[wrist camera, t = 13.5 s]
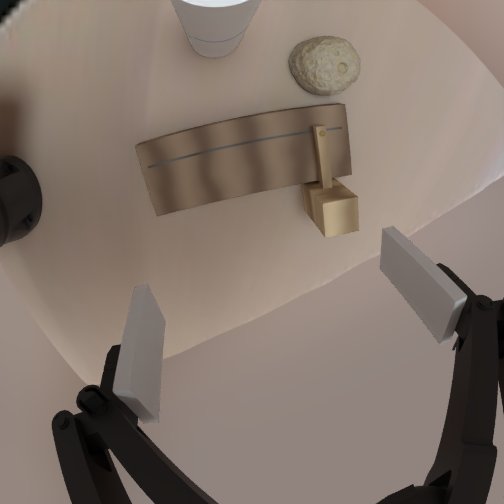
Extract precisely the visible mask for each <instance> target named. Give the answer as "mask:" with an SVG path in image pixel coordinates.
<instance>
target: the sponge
mask: <svg viewBox="0 0 504 504" xmlns="http://www.w3.org/2000/svg"><path fill="white" fill-rule="evenodd" d="M289 66H290V69H291V71H292V74H293V76H294V77H295V79H296V81H297V82H298V83H299V84H300V85H301V86H302V87H303V88H304V89H306V90H308V91H309V92H310V93H312V94H317V95H324V94H325V95H333V94H339V93H341V92H342V91H344V90H346V89H347V88H348V87H349V86H350V85H351V84H352V83H354V82H355V81H356V80H357V79H358V78H357V77H358V75H359V73H360V58H359V56H358V54H357V52H356V50H355V49H354V48H353V46H352V45H351V44H350V43H349V42H348V41H347V40H345V39H341V38H339V37H333V36H322V37H317V38H313V39H310V40H308V41H305V42H301V43H300V44H298V45H297V46H296V47H295V49H294V50H293V52H292V54H291V56H290V58H289Z"/></svg>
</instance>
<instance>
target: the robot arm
mask: <svg viewBox="0 0 504 504" xmlns="http://www.w3.org/2000/svg"><path fill="white" fill-rule="evenodd" d="M41 209H42V196H41V190H40V186H39V183H38V181H37V178H36V176H35V174H34V173H33V171H32V170H31V168H30V167H29V166H28V165H27V164H26V163H25V162H24V161H22V160H21V159H19V158H17V157H14V156H4V157H1V158H0V247H1V246H2V245H3V244H6V243H9V242H12V241H15V240H18V239H21V238H23V237H24V236H26V235H27V234H28V233H29V232H30V231H31V230H32V229H33V228H34V227H35V226H36V224H37V222H38V220H39V218H40V215H41ZM380 269H381V271H382V272H383V273H384V274H385V275H386V276H387V277H388V279H389V280H390V281H391V283H392V284H393V285H394V286H395V287H396V288H397V290H398V291H399V292H400V293H401V295H402V296H403V297H404V298H405V300H406V301H407V302H408V303H409V305H410V306H411V307H412V308H413V310H414V311H415V312H416V314H417V315H418V316H419V318H420V319H421V320H422V321H423V323H424V324H425V325H426V326H427V328H428V329H429V331H430V332H431V333H432V335H433V336H434V337H435V339H436V340H437V342H438V343H439V344H442V343H444V342H446V341H448V340H450V339H451V338H452V336H453V333H454V331H456V332H457V334H458V337H457V340H456V342H455V344H454V346H453V349H452V350H455V347H456V355H455V364H454V372H453V380H452V387H451V393H450V399H449V405H448V409H447V415H446V419H445V424H444V428H443V433H442V437H441V441H440V445H439V448H438V452H437V455H436V459H435V462H434V464H433V466H432V468H431V470H430V471H429V473H428V475H427V477H426V480H425V483H424V485H423V486H416V487H414V485H413V484H412V485H410V486H408V487H406V488H404V489H402V490H400V491H398V492H395V493H393V494H391V495H388V496H387V497H385V498H384V499H382V500H381V501H379V502H378V503H376V504H485V503H486V500H487V497H488V493H489V489H490V485H491V481H492V477H493V473H494V468H495V462H496V458H497V447H496V446H494V445H493V434H494V427H495V419H496V408H497V395H498V381H499V387H500V392H501V398H502V405H503V412H504V298H503V300H498V301H492V300H491V299H490V298H489V297H487V296H484V295H476V294H475V293H474V292H473V291H472V290H471V289H470V288H469V287H468V286H467V285H466V284H465V283H464V282H463V281H462V280H461V279H459V277H458V276H456V275H455V274H454V273H453V271H451V270H450V269H449V268H448V267H446V266H444V265H443V264H441V263H439V264H435V263H434V262H433V261H432V260H430V259H429V258H428V257H427V256H426V255H425V254H424V253H423V252H422V251H421V250H420V249H419V248H418V247H416V246H415V245H414V244H413V243H412V242H411V241H410V240H409V239H408V238H406V237H405V236H404V235H403V234H402V233H401V232H400V231H398V230H397V229H396V228H395V227H394V226H391V227H387V228H383V229H382V244H381V259H380ZM164 332H165V319H164V317H163V315H162V313H161V311H160V309H159V307H158V305H157V303H156V301H155V298H154V296H153V294H152V292H151V290H150V288H149V286H148V284H147V285H142V286H138V287H135V289H134V293H133V297H132V301H131V305H130V309H129V313H128V317H127V321H126V326H125V330H124V334H123V339H122V343H121V344H120V345H114V346H112V347H111V349H110V351H109V352H108V354H107V357H106V361H105V366H104V372H103V375H102V380H101V385H100V387H99V386H97V385H88V386H86V387H84V388H83V389H82V390H81V391H80V392H79V394H78V396H77V400H76V403H77V407H78V408H79V409H80V410H81V411H83V412H81V413H78V414H76V415H73V414H72V413H71V412H69V411H66V410H63V411H60V412H58V413H57V414H56V415H55V416H54V418H53V420H52V431H53V436H54V441H55V445H56V450H57V454H58V458H59V462H60V466H61V470H62V474H63V477H64V481H65V484H66V487H67V490H68V493H69V496H70V499H71V502H72V504H132V503H131V501H130V499H129V497H128V495H127V493H126V490H125V488H124V486H123V484H122V482H121V479H120V477H119V475H118V473H117V470H116V468H115V466H114V463H113V461H112V458H111V456H110V453H109V451H108V449H110V450H111V451H112V452H113V454H114V455H115V456H116V458H117V459H118V460H119V462H120V463H121V464H122V466H123V467H124V468H125V469H126V471H127V472H128V473H129V474H130V476H131V477H132V478H133V479H134V481H135V482H136V483H137V484H138V485H139V487H140V488H141V489H142V490H143V491H144V492H145V493H146V495H147V496H148V497H149V498H150V499H151V500H152V501H153V502H154V503H155V504H218V503H217V502H216V501H215V500H214V499H212V498H211V497H210V496H209V495H207V494H206V493H205V492H204V491H203V490H201V489H200V488H199V487H198V486H197V485H195V483H194V482H193V481H191V480H190V479H189V478H188V477H187V476H186V475H185V474H184V473H183V472H182V471H181V470H180V469H179V468H178V467H177V466H175V464H174V463H173V462H171V460H169V459H168V457H166V455H165V454H164V453H163V452H162V451H161V450H160V449H159V448H158V447H157V446H156V445H155V444H154V443H153V442H152V441H151V440H150V438H149V437H148V436H147V435H146V434H145V433H144V432H143V431H142V430H141V428H140V427H139V426H138V425H137V424H138V418H139V419H140V420H141V421H142V422H143V423H156V422H159V411H160V387H161V370H162V356H163V344H164Z"/></svg>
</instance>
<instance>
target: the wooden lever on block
mask: <svg viewBox="0 0 504 504" xmlns="http://www.w3.org/2000/svg"><path fill="white" fill-rule="evenodd" d="M313 132H314V139H315V147H316V155H317V163H318V172H319V180H318V181H313V182H307V183H302V191H303V199H304V207H305V211H306V212H307V214H308V215H309V216H310V218H311V219H312V220H313V222H314V223H315V225H316V226H317V227H318V229H319V230H320V231H321V233H322V234H323V236H324V237H325V238H328V237H333V236H337V235H342V234H346V233H350V232H355V231H359V212H358V196H356V195H355V194H354V193H353V192H351V191H350V190H349V189H348V188H346V187H345V186H344V185H342V184H341V183H340V182H339V181H337V180H336V179H335V178H331V167H330V157H329V148H328V139H327V131H326V126H325V125H315V126H313Z"/></svg>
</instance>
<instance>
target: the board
mask: <svg viewBox="0 0 504 504" xmlns="http://www.w3.org/2000/svg"><path fill="white" fill-rule="evenodd" d="M315 125H325V126H326V131H327V139H328V148H329V157H330V167H331V178H335V177H341V176H347V175H352V170H351V156H350V145H349V134H348V125H347V116H346V108H345V104H340V103H336V104H326V105H316V106H308V107H300V108H292V109H285V110H278V111H272V112H266V113H260V114H255V115H249V116H244V117H239V118H234V119H229V120H225V121H220V122H215V123H211V124H207V125H203V126H199V127H195V128H191V129H187V130H183V131H179V132H176V133H172V134H168V135H165V136H161V137H158V138H155V139H151V140H148V141H145V142H142V143H139V144H137V145H136V146H135V148H136V151H137V155H138V158H139V162H140V165H141V168H142V172H143V175H144V178H145V181H146V185H147V188H148V191H149V194H150V197H151V200H152V203H153V206H154V209H155V212H156V215H157V216H160V215H164V214H168V213H172V212H176V211H180V210H184V209H188V208H192V207H196V206H200V205H204V204H208V203H212V202H217V201H221V200H225V199H230V198H234V197H239V196H243V195H248V194H252V193H257V192H262V191H267V190H272V189H276V188H281V187H286V186H291V185H297V184H302V183H307V182H313V181H318V180H319V172H318V163H317V155H316V147H315V139H314V132H313V126H315Z"/></svg>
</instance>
